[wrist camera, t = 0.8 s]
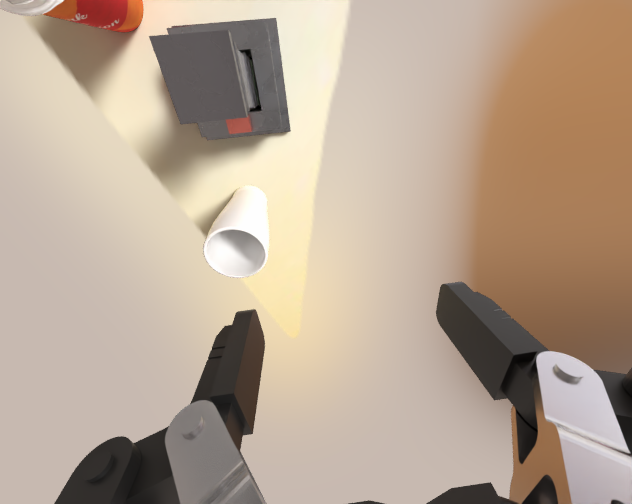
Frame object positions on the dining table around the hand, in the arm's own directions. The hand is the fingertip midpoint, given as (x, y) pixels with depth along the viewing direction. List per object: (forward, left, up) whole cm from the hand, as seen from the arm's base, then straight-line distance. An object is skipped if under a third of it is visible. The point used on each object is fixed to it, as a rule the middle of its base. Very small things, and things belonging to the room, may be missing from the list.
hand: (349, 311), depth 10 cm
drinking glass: (-2, -10, -30) cm, 32 cm away
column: (-11, +2, -30) cm, 32 cm away
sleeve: (-11, +2, -30) cm, 32 cm away
